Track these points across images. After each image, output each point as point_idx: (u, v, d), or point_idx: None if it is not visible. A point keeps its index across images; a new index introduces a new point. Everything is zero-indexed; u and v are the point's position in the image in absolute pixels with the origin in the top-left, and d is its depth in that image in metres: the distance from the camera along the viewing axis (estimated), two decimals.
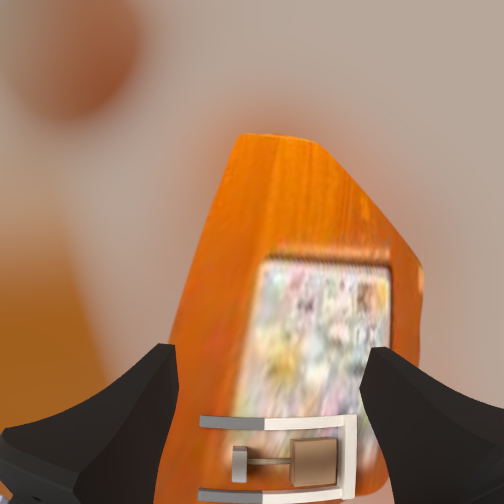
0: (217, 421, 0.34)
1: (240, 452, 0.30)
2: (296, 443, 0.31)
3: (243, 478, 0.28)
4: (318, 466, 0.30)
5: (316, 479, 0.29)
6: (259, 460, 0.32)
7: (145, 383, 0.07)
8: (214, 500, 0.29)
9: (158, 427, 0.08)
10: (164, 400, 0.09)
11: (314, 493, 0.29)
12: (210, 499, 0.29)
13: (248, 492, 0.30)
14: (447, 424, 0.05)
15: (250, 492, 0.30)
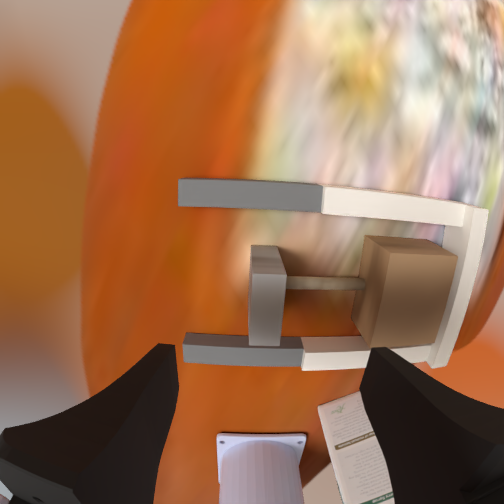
0: (216, 192, 0.17)
1: (271, 277, 0.15)
2: (391, 256, 0.16)
3: (274, 336, 0.16)
4: (419, 308, 0.17)
5: (409, 335, 0.17)
6: (304, 281, 0.19)
7: (145, 383, 0.07)
8: (214, 361, 0.20)
9: (158, 427, 0.08)
10: (164, 400, 0.09)
11: None
12: (206, 360, 0.20)
13: (277, 346, 0.20)
14: (447, 424, 0.05)
15: (281, 344, 0.20)
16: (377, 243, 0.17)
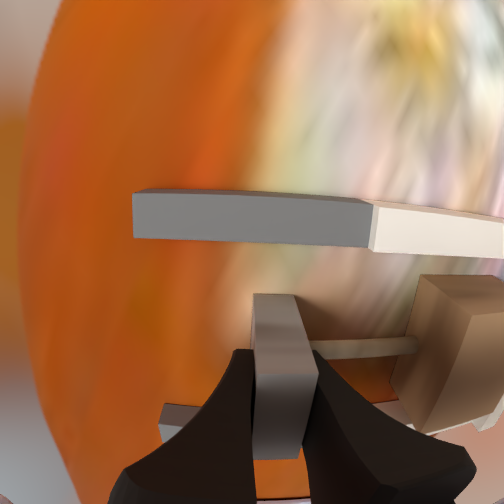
0: (195, 214, 0.10)
1: (290, 378, 0.08)
2: (471, 319, 0.09)
3: (290, 449, 0.09)
4: (488, 380, 0.09)
5: (468, 411, 0.10)
6: (335, 349, 0.12)
7: (248, 391, 0.07)
8: None
9: None
10: None
11: None
12: None
13: None
14: (345, 444, 0.05)
15: None
16: (445, 293, 0.10)
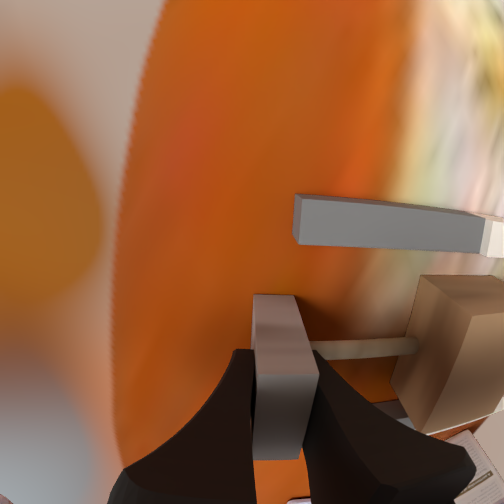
0: (362, 223, 0.10)
1: (291, 378, 0.08)
2: (472, 320, 0.09)
3: (290, 450, 0.09)
4: (488, 380, 0.09)
5: (469, 411, 0.10)
6: (335, 349, 0.12)
7: (248, 391, 0.07)
8: None
9: None
10: None
11: None
12: None
13: (393, 416, 0.13)
14: (345, 444, 0.05)
15: (396, 412, 0.13)
16: (445, 293, 0.10)
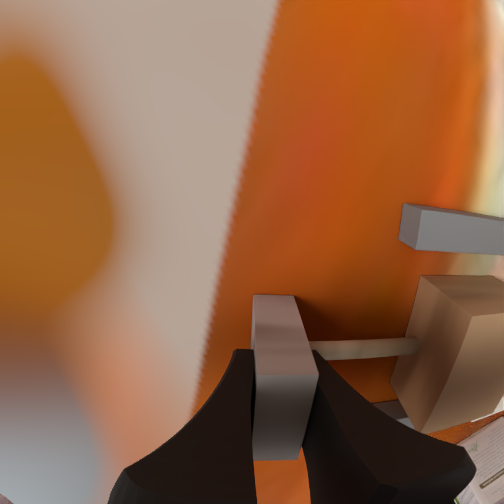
0: (461, 231, 0.10)
1: (290, 379, 0.08)
2: (471, 320, 0.08)
3: (290, 450, 0.09)
4: (488, 380, 0.09)
5: (468, 412, 0.10)
6: (335, 350, 0.12)
7: (248, 391, 0.07)
8: None
9: None
10: (251, 406, 0.09)
11: None
12: None
13: None
14: (345, 445, 0.05)
15: None
16: (445, 293, 0.10)
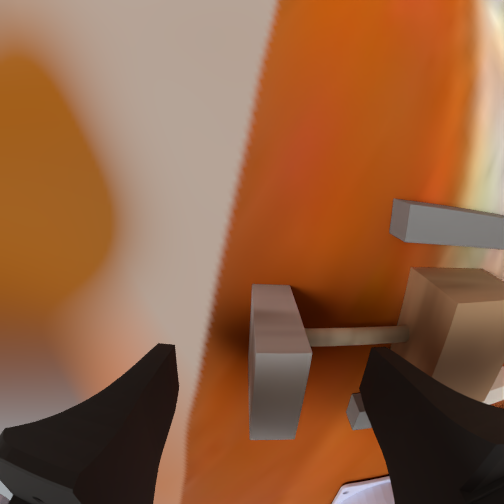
0: (449, 225, 0.11)
1: (286, 357, 0.08)
2: (457, 307, 0.09)
3: (287, 430, 0.09)
4: (477, 368, 0.10)
5: None
6: (329, 336, 0.13)
7: (145, 383, 0.07)
8: None
9: (158, 427, 0.08)
10: (164, 400, 0.09)
11: None
12: None
13: None
14: (447, 424, 0.05)
15: None
16: (433, 283, 0.11)
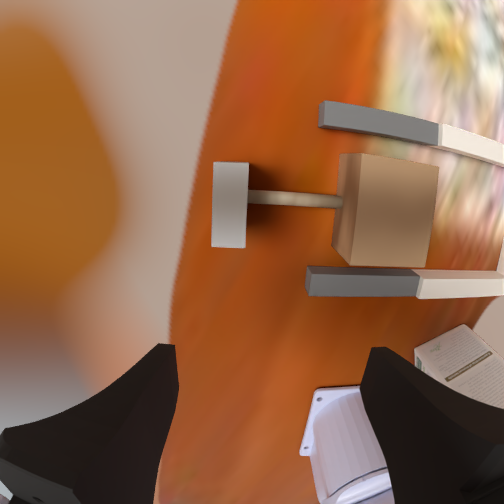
0: (359, 116, 0.16)
1: (232, 165, 0.14)
2: (363, 157, 0.15)
3: (238, 236, 0.15)
4: (402, 221, 0.16)
5: (394, 253, 0.16)
6: (276, 194, 0.18)
7: (145, 383, 0.07)
8: (340, 293, 0.20)
9: (158, 427, 0.08)
10: (164, 400, 0.09)
11: (483, 282, 0.19)
12: (333, 291, 0.19)
13: (398, 274, 0.19)
14: (447, 424, 0.05)
15: (399, 273, 0.20)
16: None
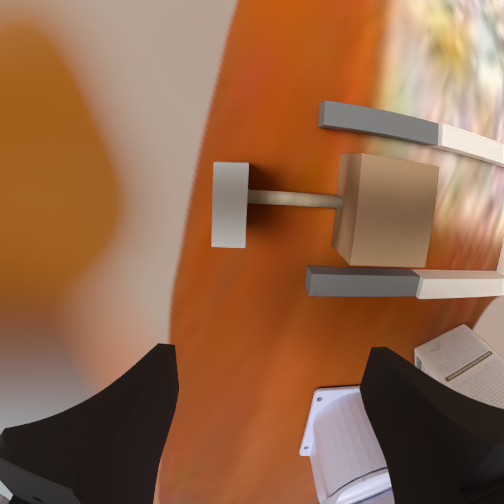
0: (359, 116, 0.16)
1: (232, 165, 0.14)
2: (363, 157, 0.15)
3: (238, 236, 0.15)
4: (402, 221, 0.16)
5: (394, 253, 0.16)
6: (276, 194, 0.18)
7: (145, 383, 0.07)
8: (340, 293, 0.20)
9: (158, 427, 0.08)
10: (164, 400, 0.09)
11: (483, 282, 0.19)
12: (333, 291, 0.19)
13: (398, 274, 0.19)
14: (447, 424, 0.05)
15: (399, 273, 0.20)
16: None
